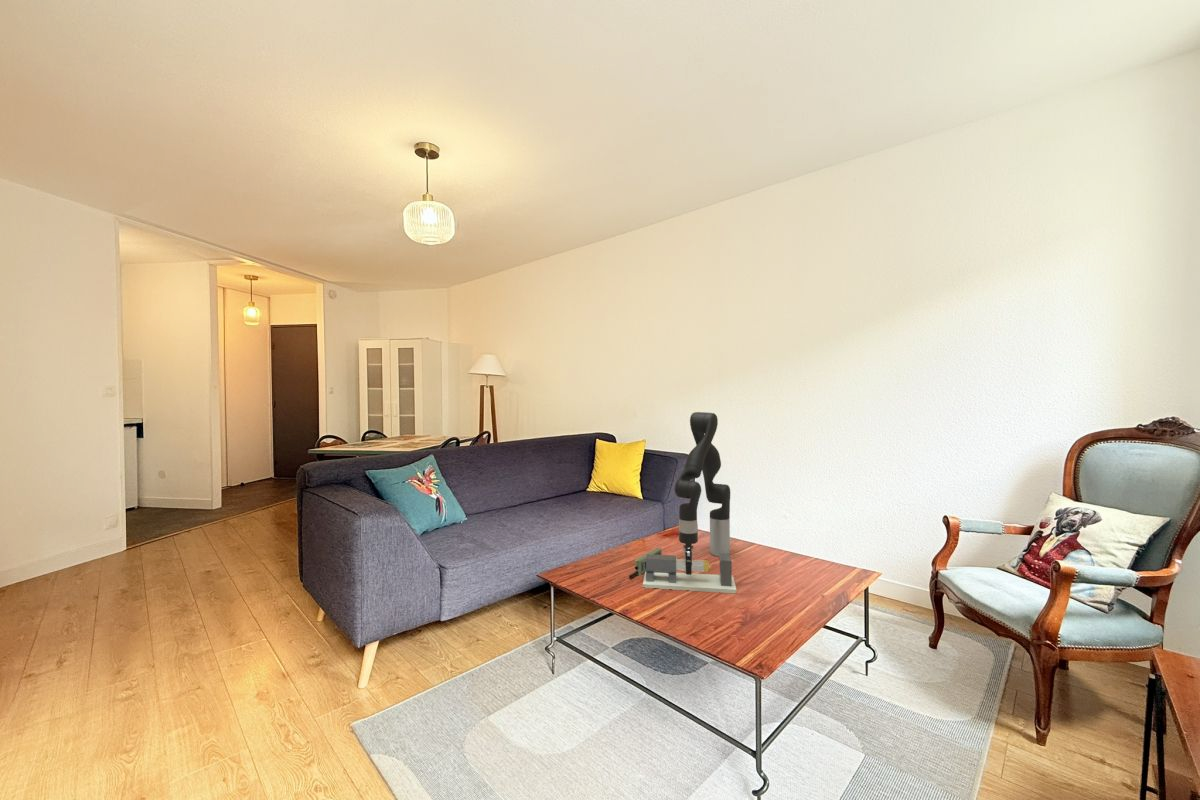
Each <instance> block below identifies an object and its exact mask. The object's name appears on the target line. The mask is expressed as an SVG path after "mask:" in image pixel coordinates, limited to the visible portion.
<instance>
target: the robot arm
mask: <svg viewBox="0 0 1200 800" xmlns="http://www.w3.org/2000/svg"><path fill="white" fill-rule="evenodd" d="M718 421H719V419H718V416H717V414H715V412H705V411H704V412H702V411H697V412H696V411H694V412H693V413H691V415H690V418H689V425H690V431H691V432H692V436H693V439H694V441H695V446H694V447H693V448H692V449H691V451H689V453H688V455H687V458H686V461H685V464H684V468H683V470H682V472H681V474H680V475H679V477H678V479H677V481H675V482H676V483H675V486H674V494H675V496H676V497H678V498H682V499H688V500H689V502H685V503H682V504H680V505H679V508H678V509H679V511H678V513H679V515H678V517H679V520H678V521H679V522H678V541H679V542H680V543H681V544H683V554H684V555H683V556H684V557H683V559H685V560H686V563H685V564H686V571H685V573H686V574H687V575H691V574H692V573H693V572H692V571H691V566H692V560H694V545H693V544H697V543H698V542H699V540H698V539H699V536H698V535H699V534H698V532H699V527H698V525H699V524H698V508H699V507H698V506H699V501H700V498H701V495H702V486H701V484H700V483H699V482H698V481H694V480H693V479H698V478H700V477H701V475H703V481H704V488H705V489H704V490H705V496H706V499H707V501H708V503H712V504H719V505H721V506H720V507H719V508H715V509H712V510H710V511H709V553H710V555H712V556H715V557H720V553H721V554H730V555H731V547H730V546H731V542H730V541H731V537H730V536H731V531H730V527H731V526H730V519H731V518H730V517H731V515H730V512H731V506H730V505H731V488H730V486H729V485H728V484H725V483H724V484H723V483H714V479H715V477H716V475H717V474H718V473H719V471H720V470H721V467H722V461H721V456H720V453H719V450H718V449H717V447H716V446H715V445H714V444H712V442H713V440H714V437H715V435H716V432H717V429H718ZM687 560H690V562H691V563H690V562H687Z"/></svg>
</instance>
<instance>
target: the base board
mask: <svg viewBox="0 0 1200 800" xmlns="http://www.w3.org/2000/svg"><path fill="white" fill-rule="evenodd" d="M691 573H692V574H691V575H687V574H686V572H676V583H668V573H656V572H655V575H654V581H653V582H649V581H646V572H645V573H644V576H643V581H642V588H643V587H645V588H644V589H653V588H659V589H658V590H669V589H672V590H673V591H674V590H675V591H686V590H689V592H691V591H692V592H707V593H719V592H720V593H724V594H738V593H737V586H736V584H735V583H736V582H735V578H734V575H732V586H721V582H720V574H712V573H711V574H710V573H709V574H708V573H706V574H705V573H693V572H691Z"/></svg>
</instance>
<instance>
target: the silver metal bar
mask: <svg viewBox="0 0 1200 800" xmlns="http://www.w3.org/2000/svg"><path fill="white" fill-rule="evenodd" d="M687 562H690V560H687ZM685 563H686V560H685V559H684V558H676V571H683V572H684V571H685V572H686V564H685ZM690 563H691V562H690ZM691 572H702V573H705V572H706V573H710V561H709V560H706V559H692V566H691Z"/></svg>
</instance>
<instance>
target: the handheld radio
mask: <svg viewBox="0 0 1200 800" xmlns="http://www.w3.org/2000/svg"><path fill="white" fill-rule="evenodd" d="M647 554H653V555H663V553H662V548H661V547H656V548H654V549H651V551H649V552H646V553H645V554H643V555H641V556H639V557H638V558H636V559H635V560H634V562H635V563H634V564H635V565H634V569H635V572H633V573H631V574H629V576H628V578H629V579H632V578H634V577H635V576H642V575H643V574H645V572H646V556H647Z"/></svg>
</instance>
